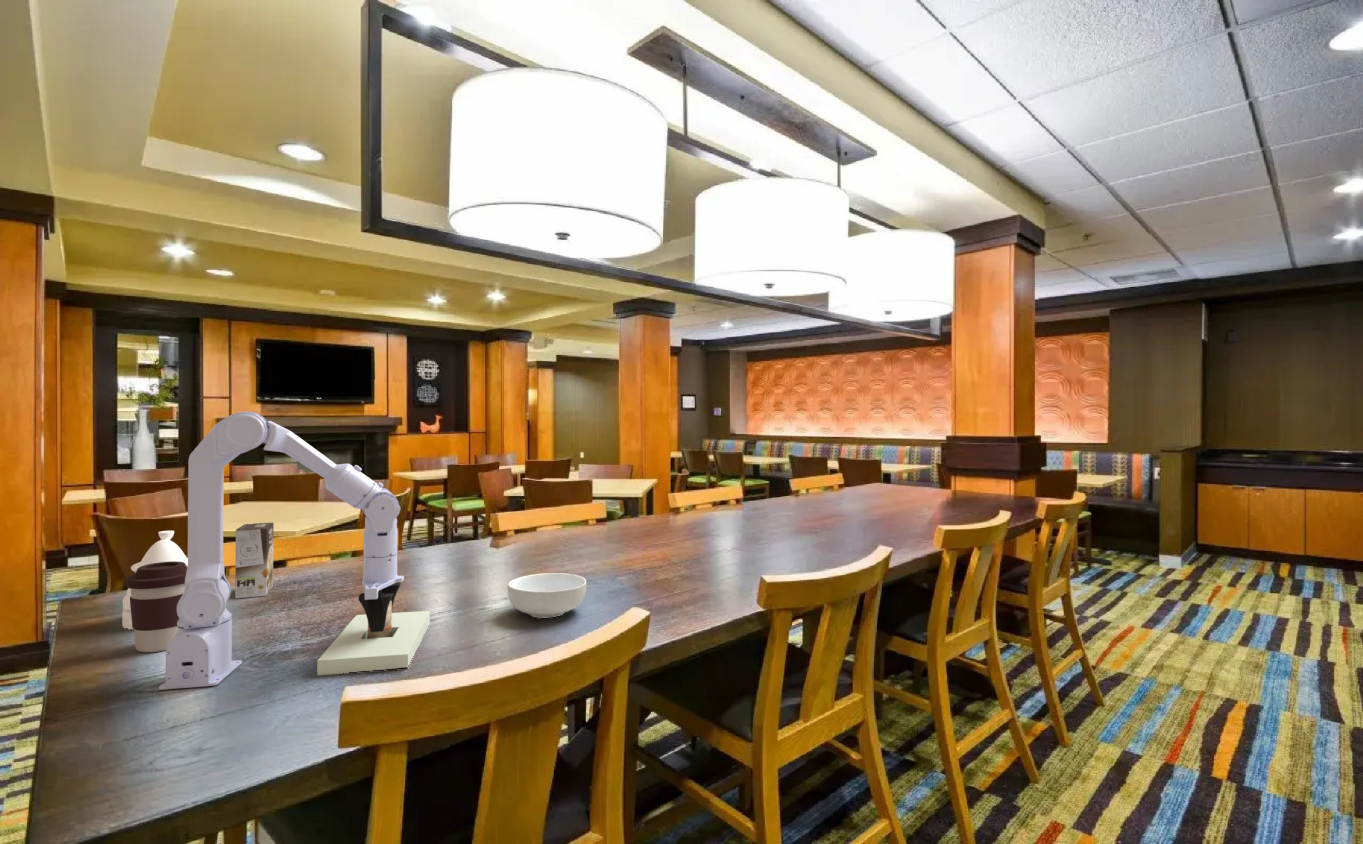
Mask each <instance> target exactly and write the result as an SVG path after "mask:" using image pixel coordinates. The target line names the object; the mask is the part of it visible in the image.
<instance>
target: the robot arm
mask: <svg viewBox="0 0 1363 844" xmlns="http://www.w3.org/2000/svg"><path fill="white" fill-rule="evenodd" d="M262 444H265V445H264V447H263V451H271V452H279V453H283V454H285V455H287V456H289V457H290V458H292V459H294V460H295V461H296V462H298V463H300V464H301V465H303V466H304V467H306V468H308V469H309V470H311V471H312V472H314V473H316V474H317V475H319V476H320V477H322V478H323V479H324V487H325V489H326V491H329V492H330V493H332V494H333V495H335V497H337V498H339V499H340V500H342V501H343V502H345V503H347V504H348V505H349V506H351V507H353V508H354V509H356V510H362V512H363V514H364V515H365V517H364V531H363V559H362V561H363V564H362V565H363V568H362V569H363V570H362V571H363V572H362V573H363V574H362V575H363V578H361V579H362V580H361V583H362V586H363V588H364V592H360V593H359V595H358V602H359V603H360V605H361V606H362V608H363V611H364V612H365V614H366V616H367V620H368V624H369V628H370V631H371V632H382V631H383V630H384V627H385V622H386V616H387V610H388V606H389V603H390V601H392V608H394V602H395V599H396V596H397V594H398V590H400V588H401V582H403V581H404V580H405V576H404V575H398V533H399V532H398V531H399V530H398V528H397V524H398V519H397V517H398V516H399V514H400V512H401V506H400V503H399V502H400V501H398V499H397V497H396V496H395V495H394V494H393V493H392V492H391V491H390V490H389V489H388V488H385V487H384V484H383V483H382V482H380V481H378V482H376V481H374V480H373V479H371V478H370V477H369V476H367V475H366V474H364V473H363V472H362V470H363V469H362V467H360V466H359V465H357V464H355V465H354V466H353V465H352V464H350V463H341V464H339V463H338V464H336V463H335V462H334V461H333V460H331V459H330V458H328V457H327V456H325V454H323V453H322V452H320V451H319V450H317V449H316V448H314V447H313V446H312V445H310V444H309V443H308V442H306V441H305V440H304V439H302V438H301V437H300V436H298V435H297V434H295V433H294V432H293V431H291V430H289V429H288V428H286V427H285V426H284V427H283V426H282V425H280V424H278V423H276V422H274V421H272V420H267V419H266V418H265V417H264V416H263V415H261V414H260V413H258V412H254V411H239V412H235V413H232V414H230V415H228V416H227V417H225V418H223V419H222V420H220V421H219V422H217V423H215V424H214V425H213V427H212V428H211V429H210V430H209V432H207V434H206V435H205V436H204V438H203V439H202V440H201V441H200V442H199V443H198V445H197V446H195V448H194V450H193V451H192V452H191V453H190V454H189V457H188V462H187V463H188V464H187V465H188V470H187V471H188V472H187V473H188V474H187V475H188V476H187V478H188V479H187V480H188V481H187V482H188V483H187V485H188V486H187V487H188V488H187V497H188V499H187V558H188V567H187V572H186V578H185V589H184V593H183V595H182V597H181V599H180V600H179V602H178V604H177V615H178V617H179V618H180V619H179V620H178V621H177V633H176V636H175V637H174V638H173V640H172V641H171V642H170V643H169V644H168V646H167V649H166V650H165V682H163V683H162V684H161V685H159V686H158V690H159V691H161V690H173V689H175V690H176V689H186V688H200V687H201V688H202V687H210V686H211V687H213V686H217V685H218V684H219V683H221V682H222V681H223V680H224V679H225V678H227V677H228V676H229V675H230V674H231V673H232V672H234V671H235V670H236V669H237V668H238V667H239V666H240V665H242V664H243V660H241V659H239V660H233V656H232V654H233V652H232V651H233V650H232V649H233V646H232V644H233V643H232V642H233V641H232V640H233V639H232V637H233V631H232V630H233V624H232V623H233V618H232V617H233V614H232V612H230V611H229V610H228V609H227V603H228V601H229V600H230V596H231V594H232V586H231V585H230V582H229V581H228V580H227V578H226V576H225V575H226V574H225V563H224V501H225V500H224V497H225V496H224V495H225V494H224V491H225V487H224V484H225V483H224V482H225V475H224V474H225V467H226V466H228V464H229V463H231V462H232V461H233V460H235V459H236V458H237V457H238V456H240V455H241V454H243V453H247V452H249V451H251V450H254V449H256V448H258V447H259V446H260V445H262Z"/></svg>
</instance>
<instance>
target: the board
mask: <svg viewBox="0 0 1363 844" xmlns="http://www.w3.org/2000/svg"><path fill="white" fill-rule="evenodd" d="M430 623H431V611H430V610H423V611H422V610H421V611H406V612H404V611H403V612H392V637H385V638H370V639H368V620H367V616H366V613H365V614H356V615H355V616H354V617H353V618H352V620H351V621H350V622H349V623H348V624H347V625H346V627H345V628H344V629H343V630H342V631H341V632H340V633H339V634H338V636H337V637H336V638H335V639H334V640H333V642H331V644H330V645H329V646H328V647H327V649H326V650H325V651H324V653H322V654H321V656H320V657H319V658H318V659H317V661H316V663H317V665H316V666H317V669H316V672H317V674H316V675H317V676H329V675H341V674H343V673H344V674H350V673H349V672H357V671H358V672H357V673H360V672H359V671H370V672H373V671H372V670H380V669H386V668H400V667H408V665H409V664H410V665H411V663H412V661H413V659H414V657H415V655H414V654H416V653H415V652H417V651H416V650H418V649H417V648H419V647H418V646H420V644H421V642H422V640H423V637H424V636H425V634H426V632H427V630H428V627H429V626H428V625H430ZM413 656H414V657H413ZM412 658H413V659H412ZM411 660H412V661H411ZM410 662H411V663H410ZM410 665H409V666H410ZM408 668H409V667H408Z"/></svg>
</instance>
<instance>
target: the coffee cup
mask: <svg viewBox="0 0 1363 844" xmlns="http://www.w3.org/2000/svg"><path fill="white" fill-rule="evenodd" d="M186 572H187V566H186V564H185V563H184V562H178V561H170V562H159V563H152V564H148V565H144V566H141V567H139V568H138V569H137V571H136V573H135V572H134V574H131V575H128V576H126V579H125V587H126V588H127V589H128V588H131V597H130V607H131V618H132V628H133V629H134V630H133V632H134V643H135V649H136V651H138V652H140V653H156V652H163V651H166V649H167V646H168V644H169V643H170V642H171V641H172V640H173V638H174V637H175V636H176V633H177V621H178V620H179V619H180V618H179V617H178V615H177V604H178V602H179V600H180V599H181V597H182V595H183V593H184V589H185V578H186Z"/></svg>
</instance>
